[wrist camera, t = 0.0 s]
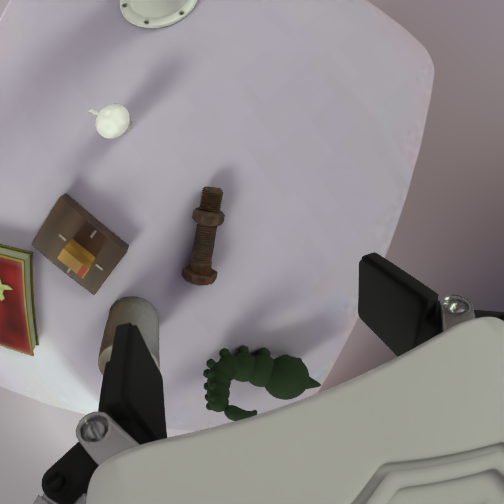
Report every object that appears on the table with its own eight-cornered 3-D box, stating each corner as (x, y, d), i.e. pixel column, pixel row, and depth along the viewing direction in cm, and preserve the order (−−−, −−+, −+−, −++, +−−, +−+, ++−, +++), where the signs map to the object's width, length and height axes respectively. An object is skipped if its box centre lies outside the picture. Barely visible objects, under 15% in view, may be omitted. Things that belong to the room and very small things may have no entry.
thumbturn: (66, 247, 40) (56, 259, 35) (72, 238, 40) (62, 248, 35) (89, 266, 42) (82, 279, 38) (95, 257, 42) (88, 269, 37)
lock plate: (38, 238, 40) (31, 245, 38) (66, 192, 39) (59, 196, 37) (97, 286, 46) (94, 295, 44) (129, 245, 46) (126, 252, 43)
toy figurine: (198, 363, 60) (300, 375, 67) (203, 432, 43) (327, 434, 49) (208, 329, 57) (316, 346, 64) (216, 399, 40) (350, 404, 47)
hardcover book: (-6, 330, 43) (-13, 342, 39) (-16, 240, 37) (-27, 248, 33) (38, 344, 47) (32, 357, 43) (32, 252, 41) (23, 261, 37)
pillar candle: (104, 330, 50) (92, 386, 36) (116, 288, 48) (101, 341, 34) (151, 344, 53) (151, 401, 40) (166, 305, 51) (169, 360, 38)
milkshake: (113, 102, 37) (98, 93, 28) (142, 117, 39) (134, 111, 30) (99, 128, 38) (80, 126, 29) (127, 143, 40) (115, 144, 31)
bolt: (214, 185, 48) (200, 270, 52) (189, 183, 44) (176, 273, 48) (238, 192, 44) (221, 283, 48) (212, 190, 40) (196, 288, 45)
